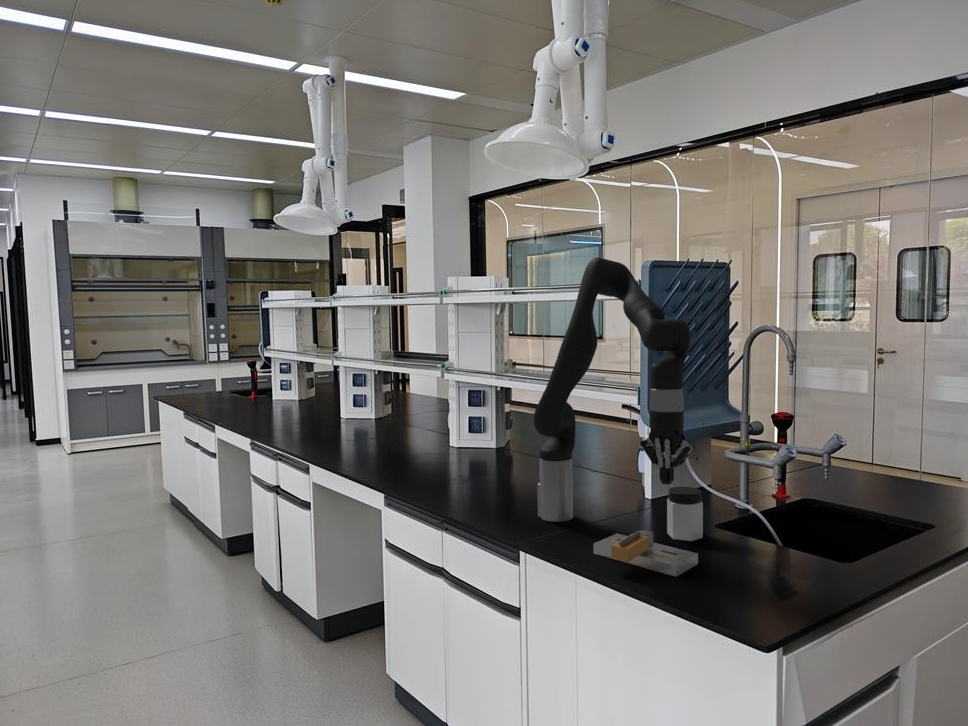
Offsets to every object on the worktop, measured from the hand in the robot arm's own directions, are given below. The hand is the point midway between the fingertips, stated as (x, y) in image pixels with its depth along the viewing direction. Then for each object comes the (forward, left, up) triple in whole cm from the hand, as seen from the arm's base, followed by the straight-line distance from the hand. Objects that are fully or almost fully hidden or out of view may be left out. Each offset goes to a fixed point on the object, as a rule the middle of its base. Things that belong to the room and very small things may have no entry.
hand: (666, 483), depth 156 cm
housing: (-6, 0, -19) cm, 20 cm away
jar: (-7, +21, -19) cm, 29 cm away
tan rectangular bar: (-6, -5, -16) cm, 17 cm away
